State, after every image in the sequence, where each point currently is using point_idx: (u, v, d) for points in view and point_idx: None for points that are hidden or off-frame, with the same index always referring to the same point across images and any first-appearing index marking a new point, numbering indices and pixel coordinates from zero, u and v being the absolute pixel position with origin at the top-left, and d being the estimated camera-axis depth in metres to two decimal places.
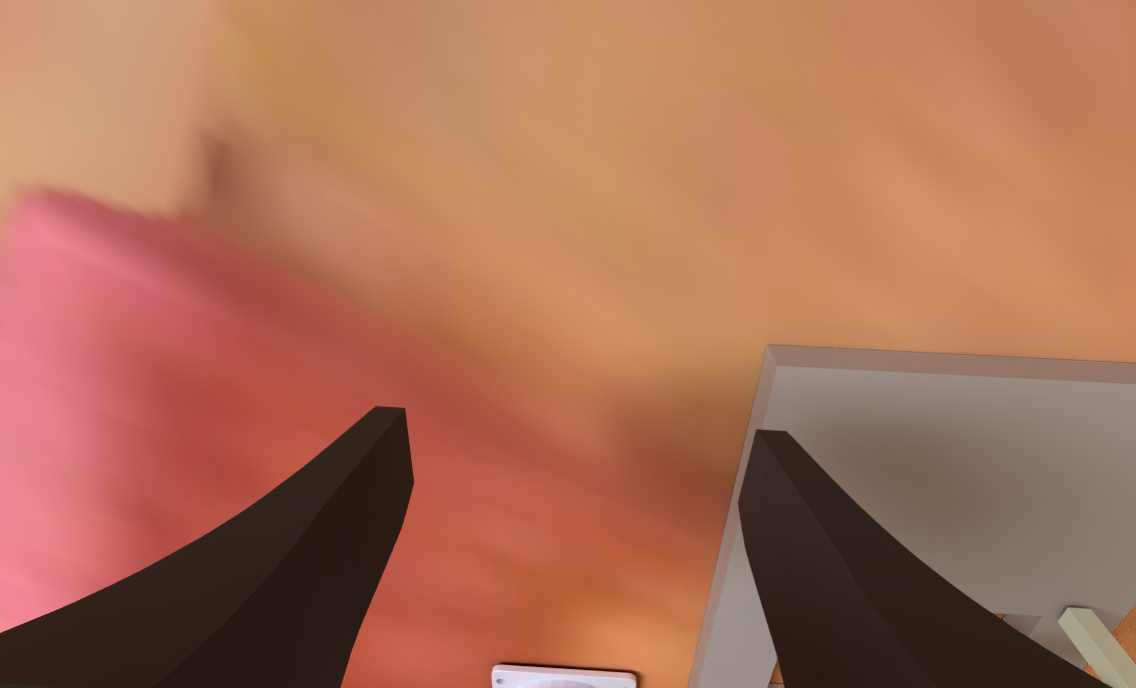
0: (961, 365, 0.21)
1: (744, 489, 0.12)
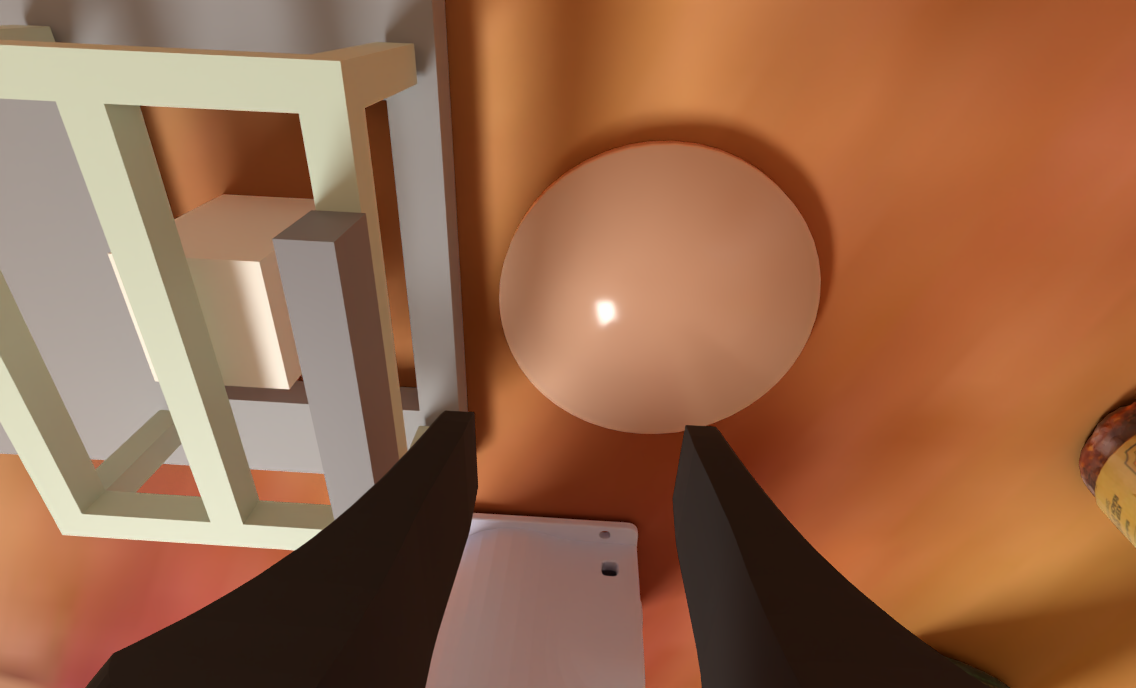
0: None
1: (677, 485, 0.12)
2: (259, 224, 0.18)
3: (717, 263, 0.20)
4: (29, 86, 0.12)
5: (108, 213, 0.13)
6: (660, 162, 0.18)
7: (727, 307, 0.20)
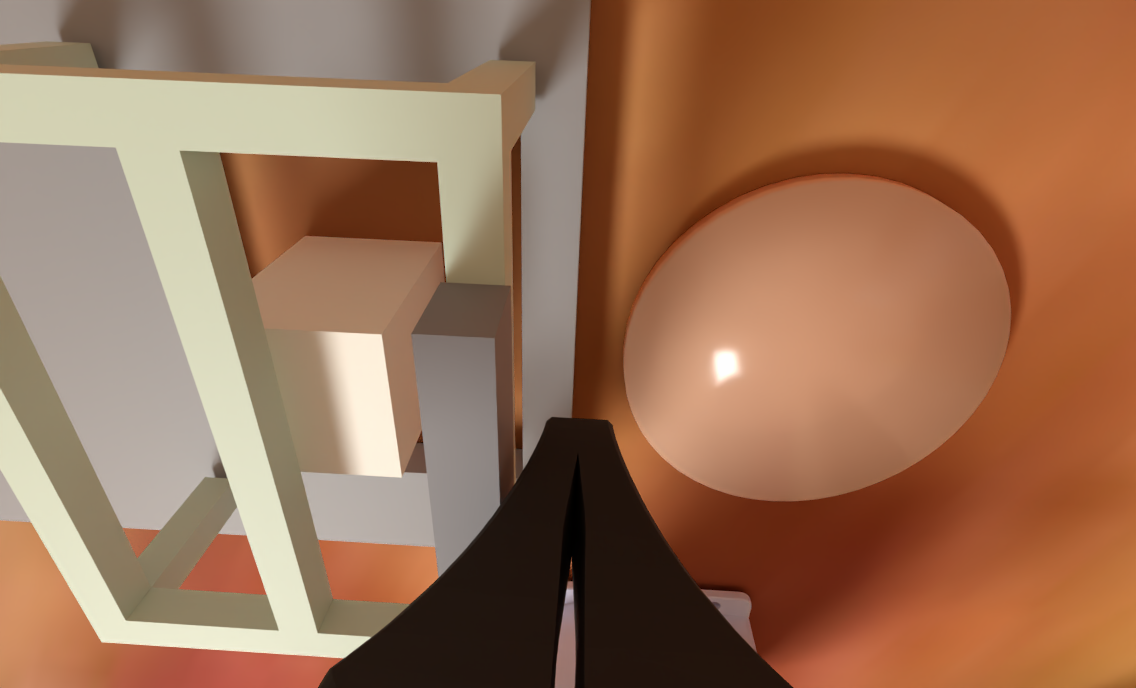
0: None
1: None
2: (362, 278, 0.15)
3: (889, 315, 0.17)
4: (82, 128, 0.09)
5: (177, 286, 0.10)
6: (837, 200, 0.15)
7: (893, 364, 0.18)
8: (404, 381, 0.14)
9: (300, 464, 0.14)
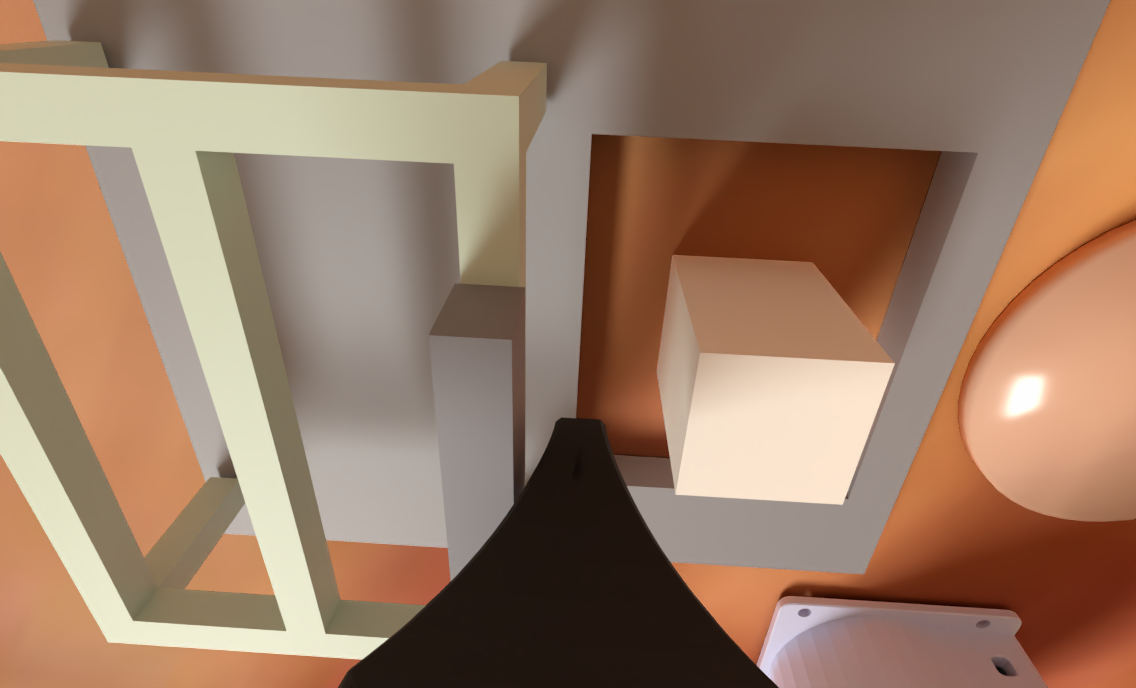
0: None
1: None
2: (791, 302, 0.15)
3: None
4: (97, 128, 0.09)
5: (191, 286, 0.10)
6: None
7: None
8: None
9: (742, 491, 0.14)
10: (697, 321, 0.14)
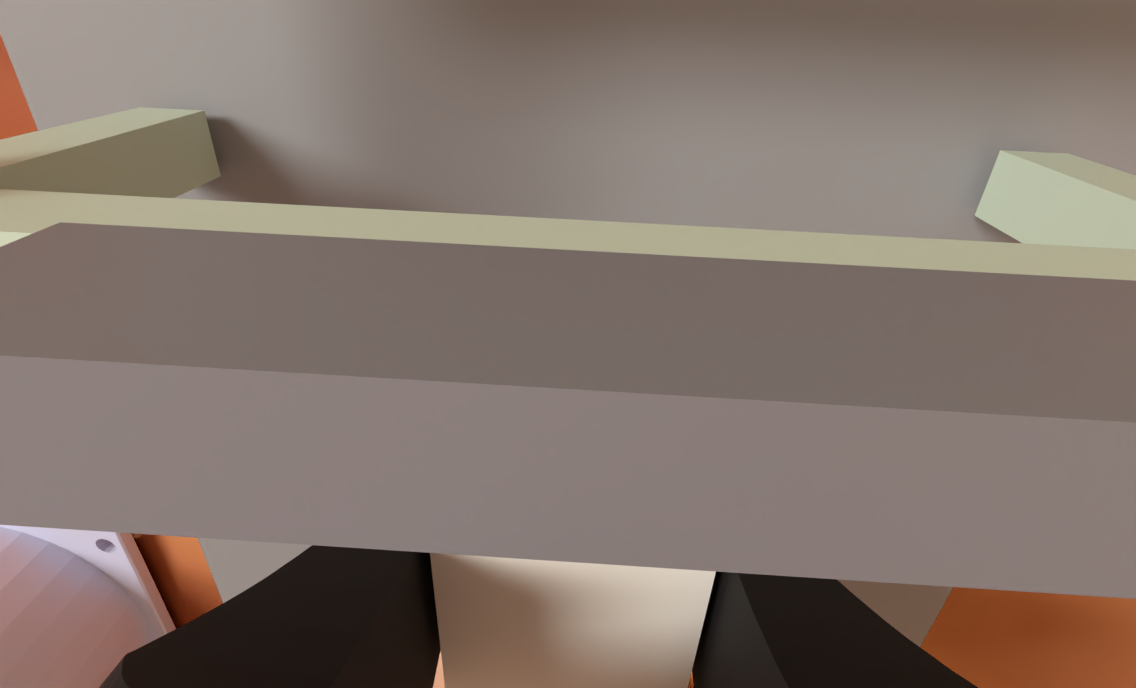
0: None
1: None
2: None
3: None
4: None
5: None
6: None
7: None
8: None
9: (451, 601, 0.09)
10: None
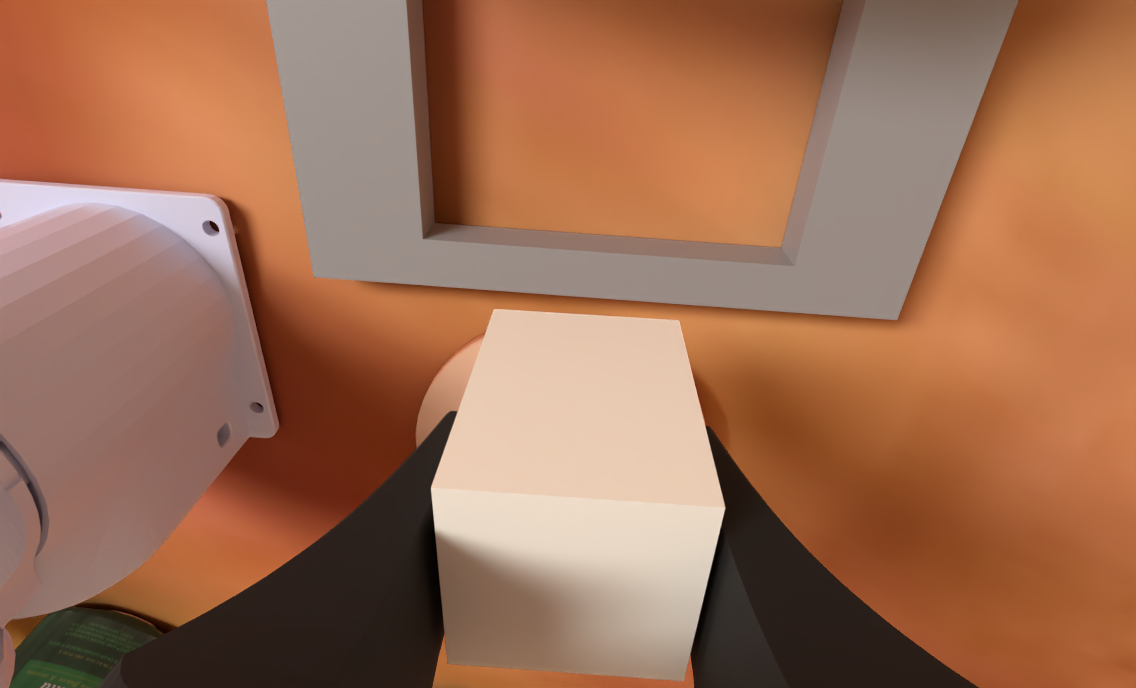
0: None
1: None
2: None
3: None
4: None
5: None
6: None
7: None
8: None
9: (455, 568, 0.09)
10: (707, 448, 0.09)
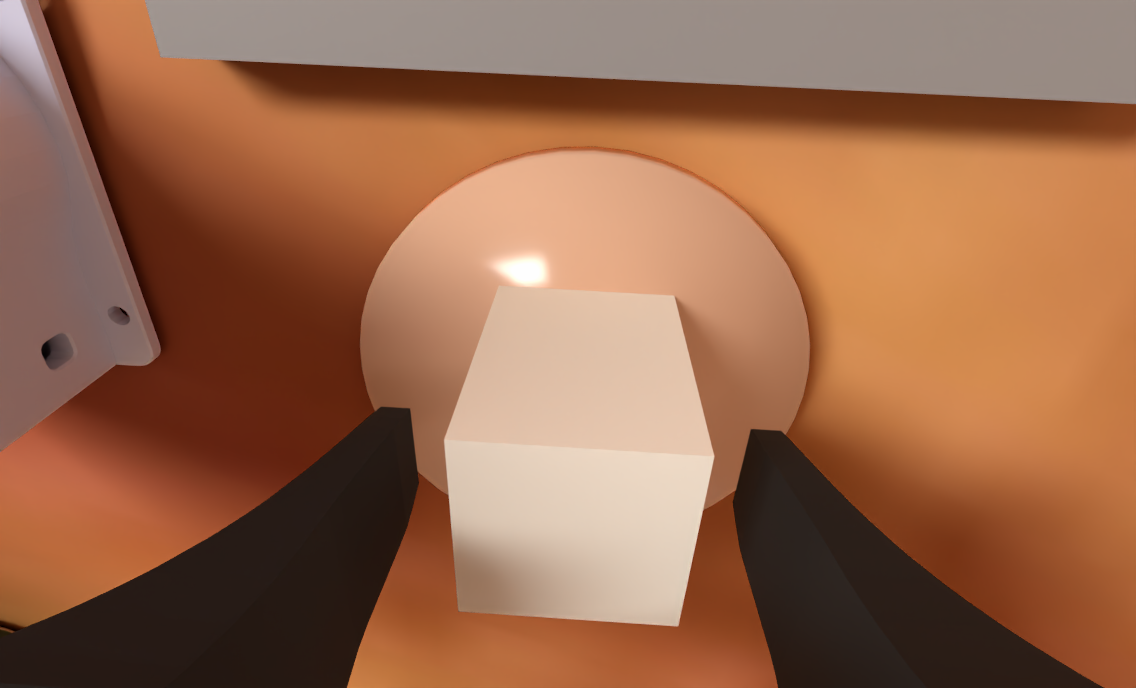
0: None
1: (739, 489, 0.12)
2: None
3: None
4: None
5: None
6: (786, 378, 0.14)
7: None
8: None
9: (466, 517, 0.10)
10: (699, 407, 0.10)
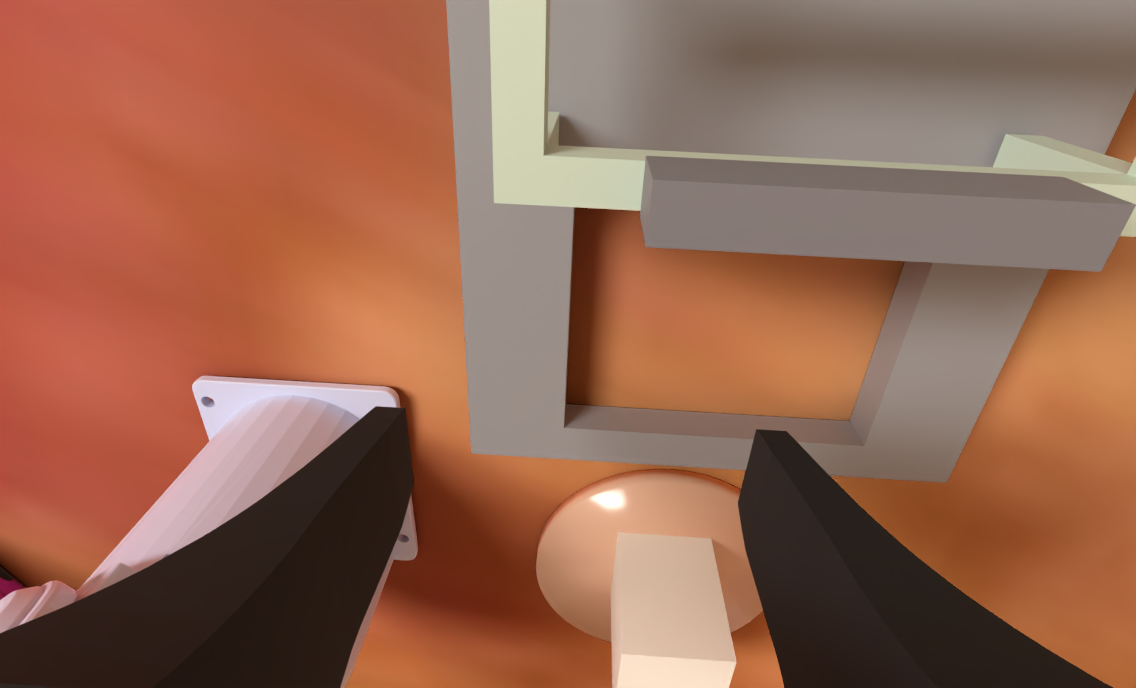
0: None
1: (744, 489, 0.12)
2: None
3: None
4: None
5: None
6: None
7: None
8: None
9: (625, 681, 0.22)
10: (728, 628, 0.22)
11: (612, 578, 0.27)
